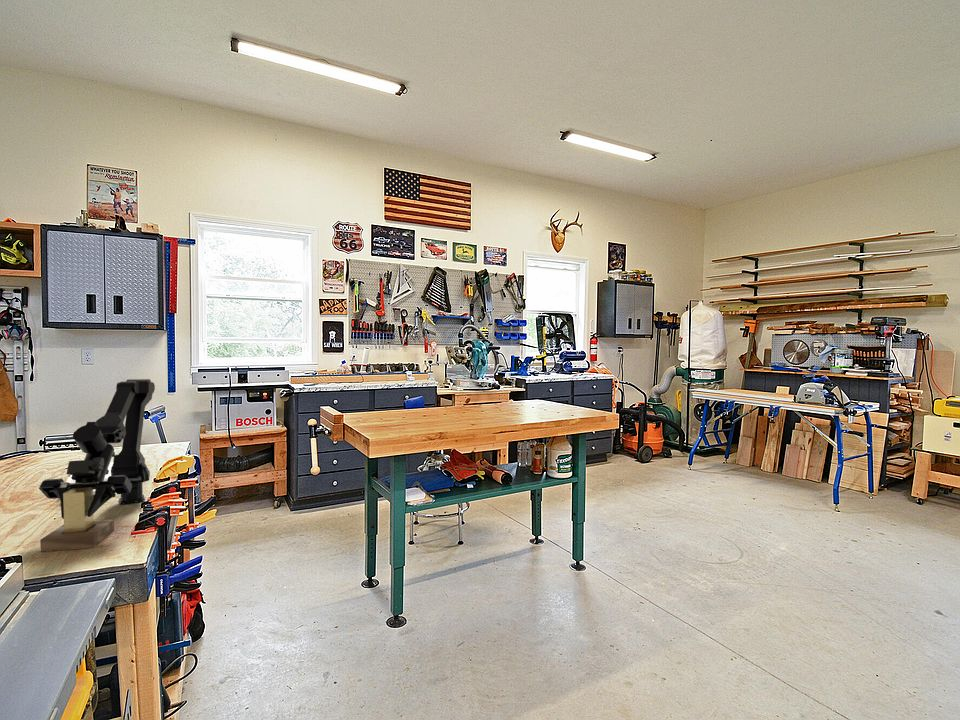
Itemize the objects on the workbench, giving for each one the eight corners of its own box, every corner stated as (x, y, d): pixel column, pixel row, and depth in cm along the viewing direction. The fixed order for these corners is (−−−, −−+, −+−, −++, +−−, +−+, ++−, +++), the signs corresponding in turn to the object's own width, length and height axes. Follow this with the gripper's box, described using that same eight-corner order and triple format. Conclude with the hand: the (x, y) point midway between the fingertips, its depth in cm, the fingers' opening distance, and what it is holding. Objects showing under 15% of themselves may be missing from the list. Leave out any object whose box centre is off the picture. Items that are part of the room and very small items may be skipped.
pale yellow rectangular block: (73, 538, 126) (72, 488, 126) (93, 536, 127) (92, 487, 127) (64, 545, 122) (63, 493, 122) (85, 543, 123) (84, 492, 123)
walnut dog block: (65, 534, 129) (65, 523, 129) (114, 530, 132) (114, 519, 131) (40, 551, 118) (40, 539, 118) (94, 547, 121) (93, 535, 121)
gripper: (42, 448, 125) (15, 505, 115) (126, 445, 130) (108, 499, 120) (60, 471, 133) (36, 525, 123) (139, 466, 138) (122, 519, 128)
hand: (75, 517), depth 123 cm, fingers open, 5 cm apart
